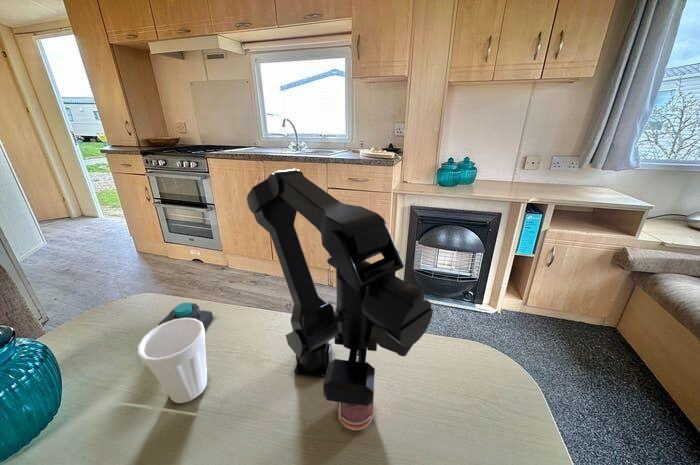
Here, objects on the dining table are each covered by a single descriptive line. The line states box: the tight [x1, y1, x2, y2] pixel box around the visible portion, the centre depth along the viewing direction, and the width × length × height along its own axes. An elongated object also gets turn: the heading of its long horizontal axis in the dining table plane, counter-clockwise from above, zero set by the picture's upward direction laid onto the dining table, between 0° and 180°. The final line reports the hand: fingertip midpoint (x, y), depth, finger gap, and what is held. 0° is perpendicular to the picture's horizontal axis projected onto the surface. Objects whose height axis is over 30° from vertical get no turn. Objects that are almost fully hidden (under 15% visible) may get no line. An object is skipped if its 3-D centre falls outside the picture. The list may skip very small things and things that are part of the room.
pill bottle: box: [337, 356, 375, 431], centre depth 46 cm, size 6×6×11 cm
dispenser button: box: [173, 302, 193, 318], centre depth 67 cm, size 4×4×2 cm
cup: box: [136, 318, 208, 404], centre depth 50 cm, size 10×10×13 cm
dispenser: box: [157, 302, 214, 329], centre depth 68 cm, size 10×6×4 cm, turn 82°
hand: (355, 378), depth 45 cm, fingers open, 9 cm apart
